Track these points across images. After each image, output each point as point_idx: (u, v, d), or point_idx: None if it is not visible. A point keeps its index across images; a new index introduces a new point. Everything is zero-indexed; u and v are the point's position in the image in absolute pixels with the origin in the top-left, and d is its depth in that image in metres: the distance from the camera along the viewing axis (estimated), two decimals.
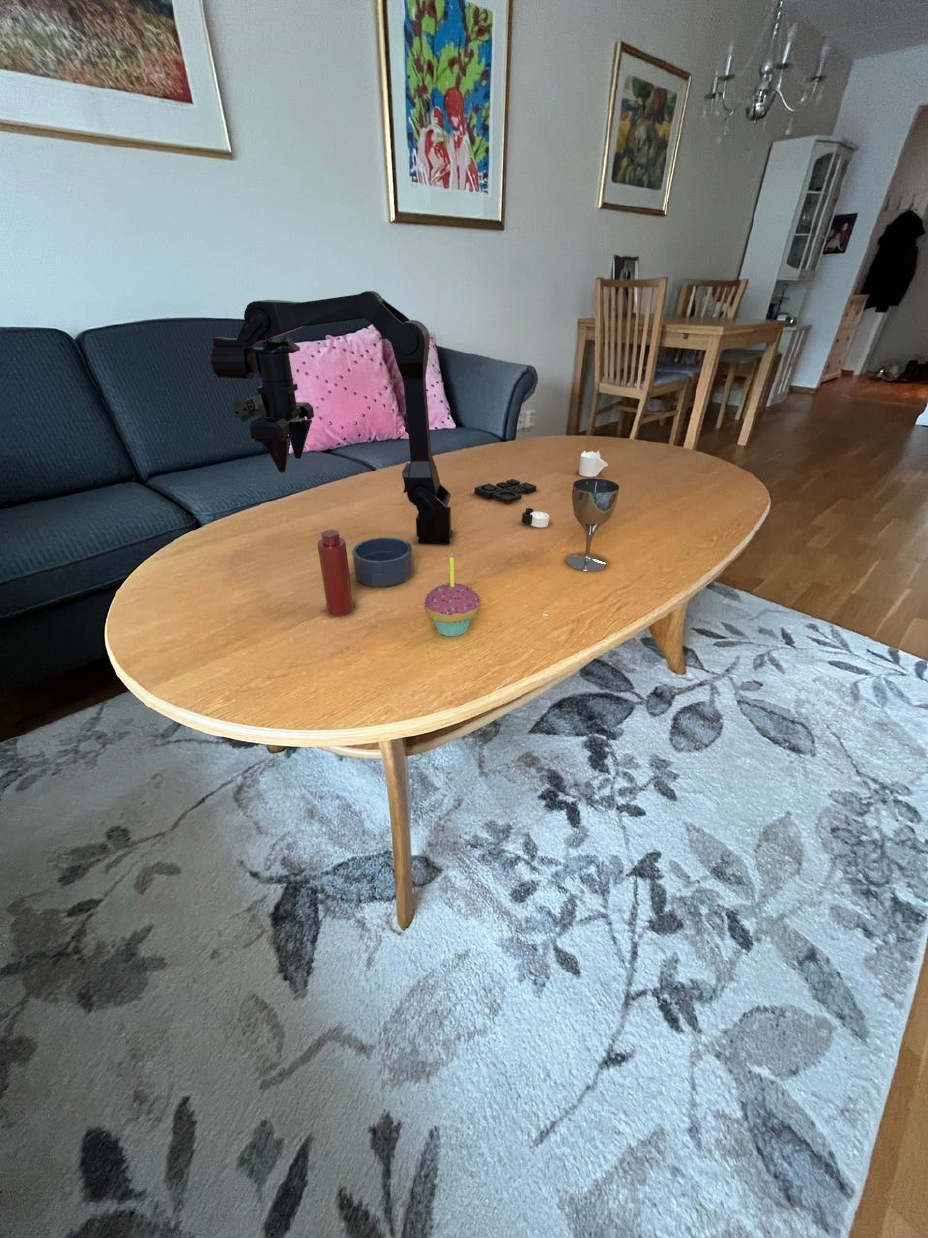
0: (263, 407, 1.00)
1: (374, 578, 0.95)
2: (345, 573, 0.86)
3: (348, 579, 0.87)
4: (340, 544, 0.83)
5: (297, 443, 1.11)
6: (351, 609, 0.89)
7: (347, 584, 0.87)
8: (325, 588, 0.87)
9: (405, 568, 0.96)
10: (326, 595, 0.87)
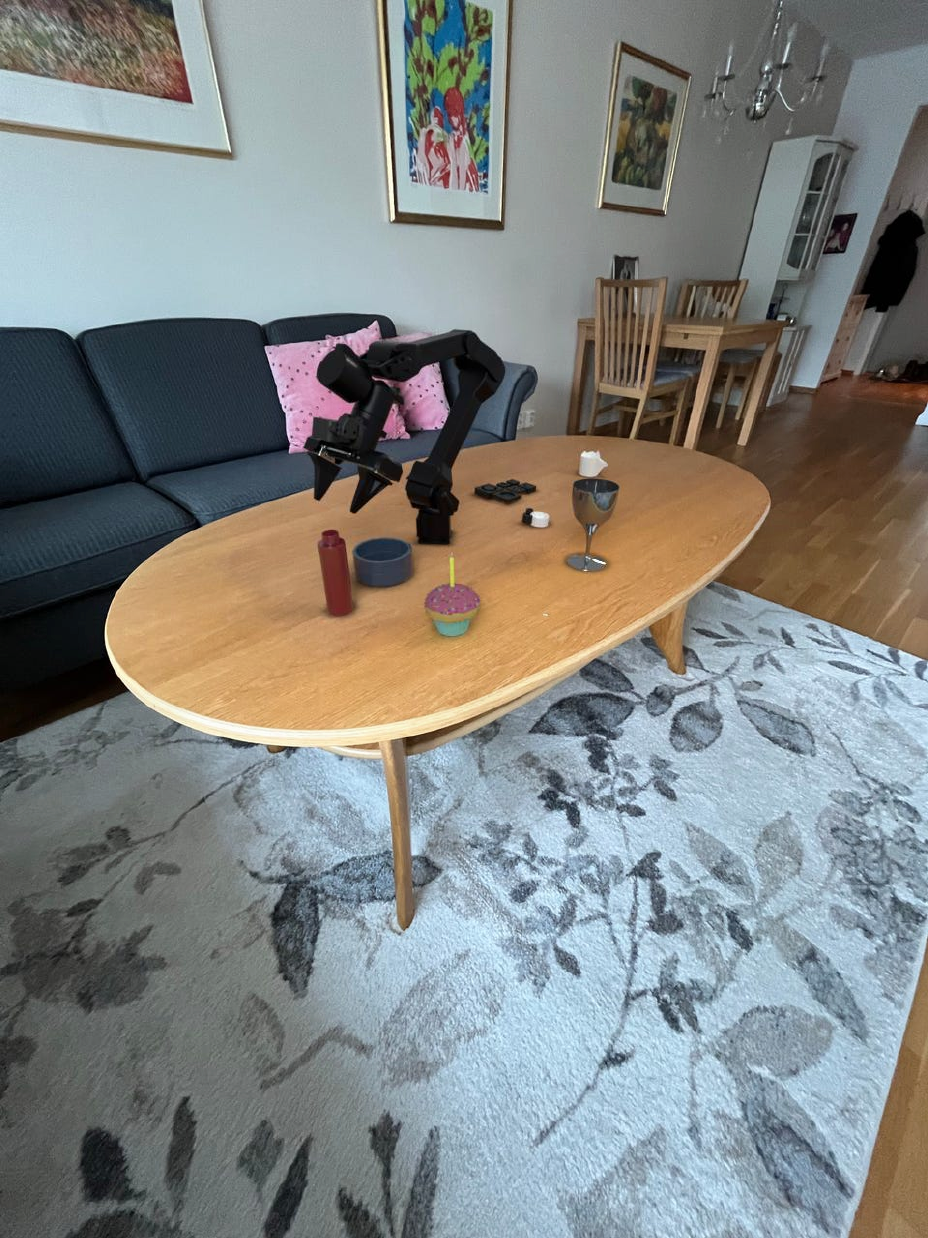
0: (361, 439, 0.87)
1: (374, 578, 0.95)
2: (345, 573, 0.86)
3: (348, 579, 0.87)
4: (340, 544, 0.83)
5: (324, 484, 0.94)
6: (351, 609, 0.89)
7: (347, 584, 0.87)
8: (325, 588, 0.87)
9: (405, 568, 0.96)
10: (326, 595, 0.87)
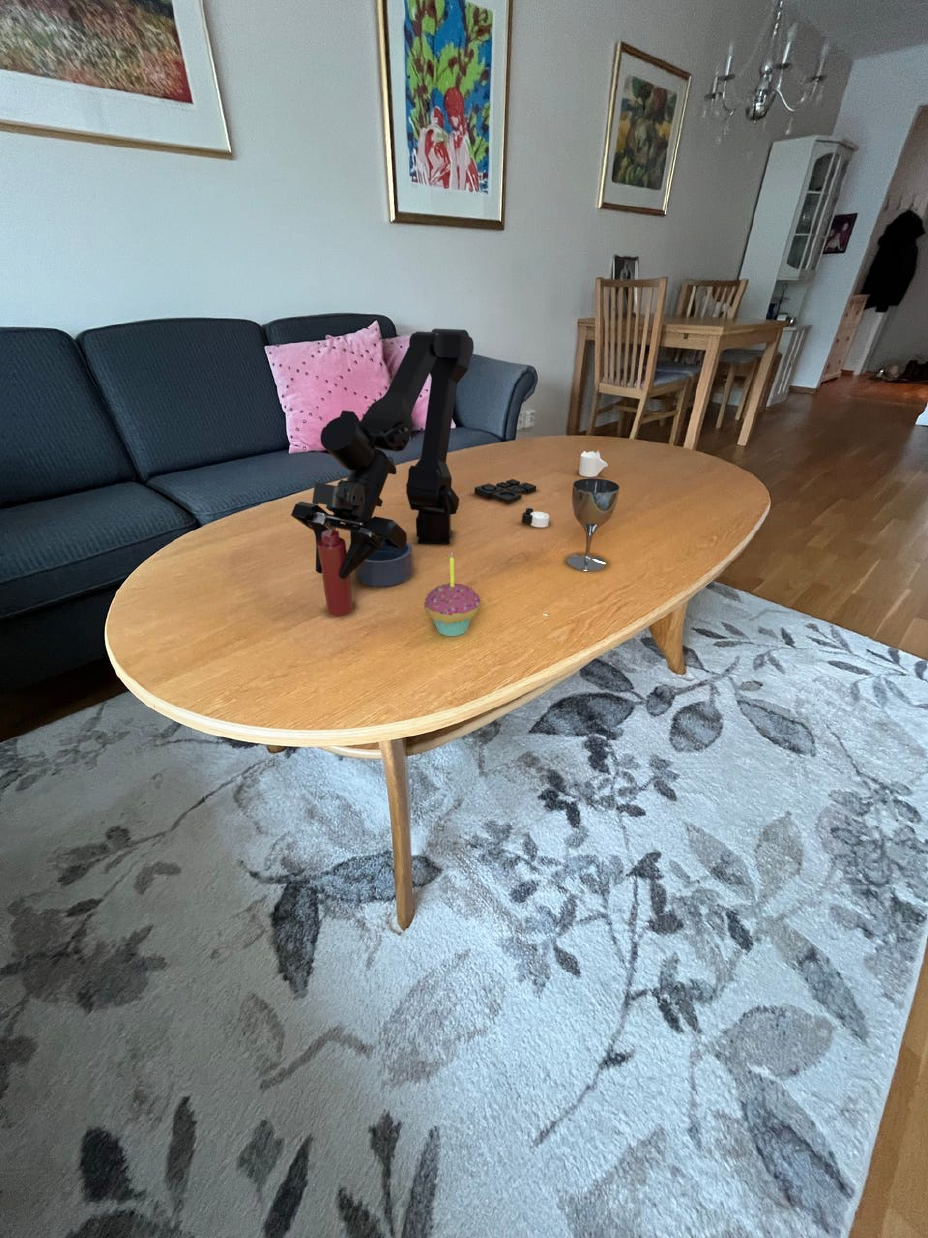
0: (363, 506, 0.84)
1: (374, 578, 0.95)
2: None
3: (348, 579, 0.87)
4: (340, 544, 0.83)
5: None
6: (351, 609, 0.89)
7: (347, 584, 0.87)
8: (325, 588, 0.87)
9: (405, 568, 0.96)
10: (326, 595, 0.87)
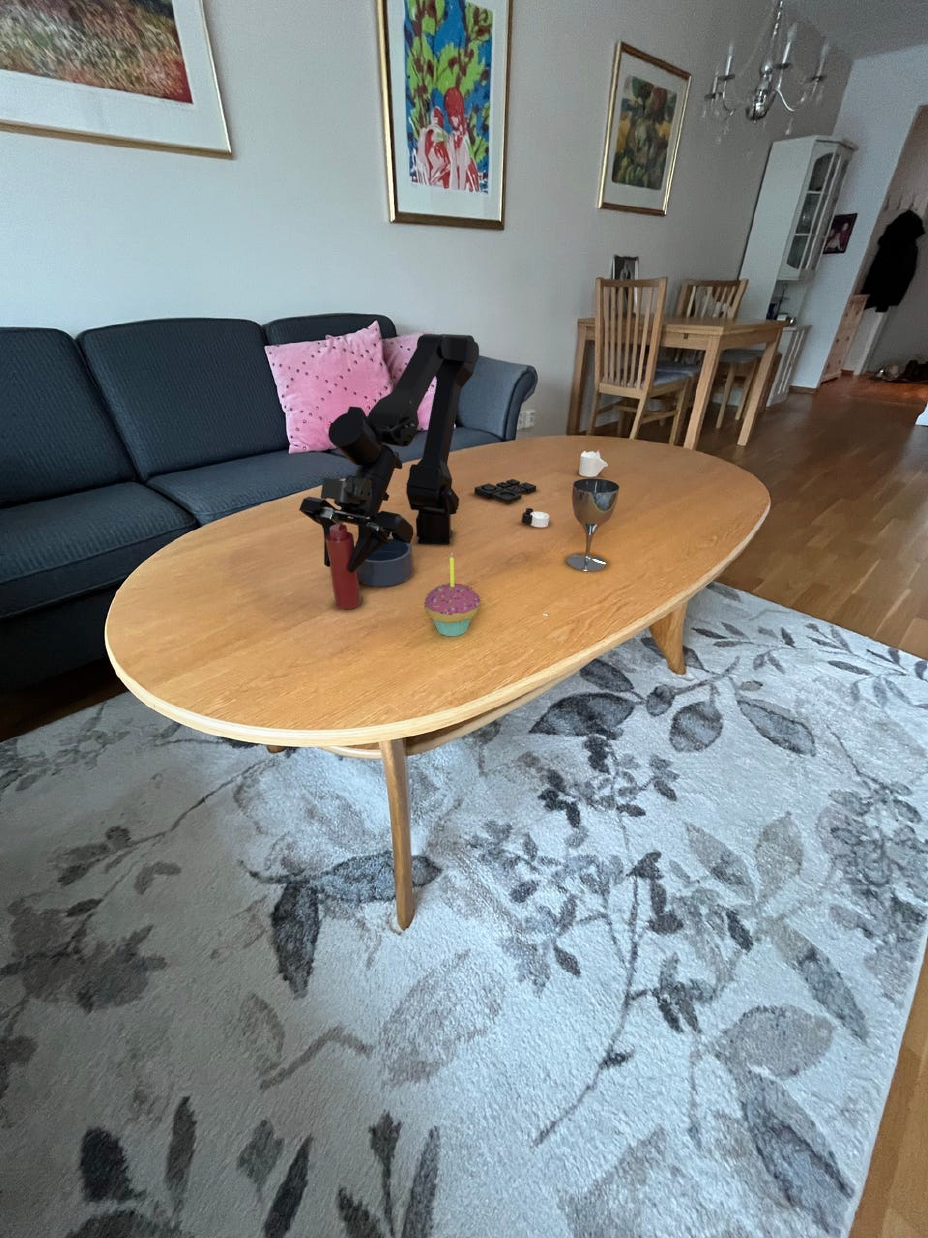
0: (370, 500, 0.86)
1: (374, 578, 0.95)
2: None
3: (356, 573, 0.88)
4: (348, 538, 0.85)
5: None
6: (359, 602, 0.91)
7: (355, 577, 0.88)
8: (333, 582, 0.88)
9: (405, 568, 0.96)
10: (334, 588, 0.89)
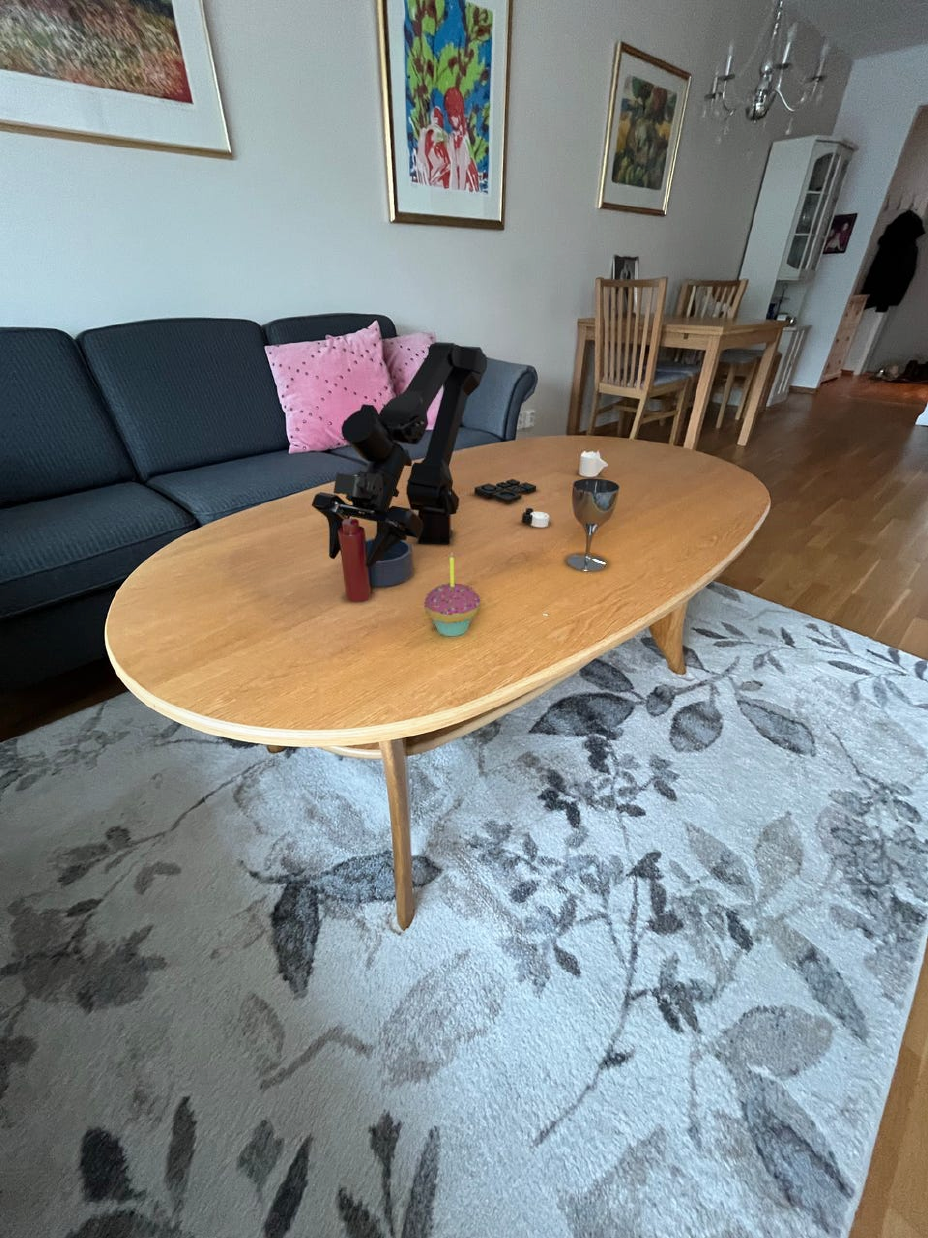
0: (381, 496, 0.88)
1: (374, 578, 0.95)
2: (364, 560, 0.89)
3: None
4: (360, 532, 0.87)
5: (338, 542, 0.91)
6: (369, 595, 0.93)
7: (366, 571, 0.91)
8: (345, 575, 0.91)
9: (405, 568, 0.96)
10: (346, 582, 0.91)
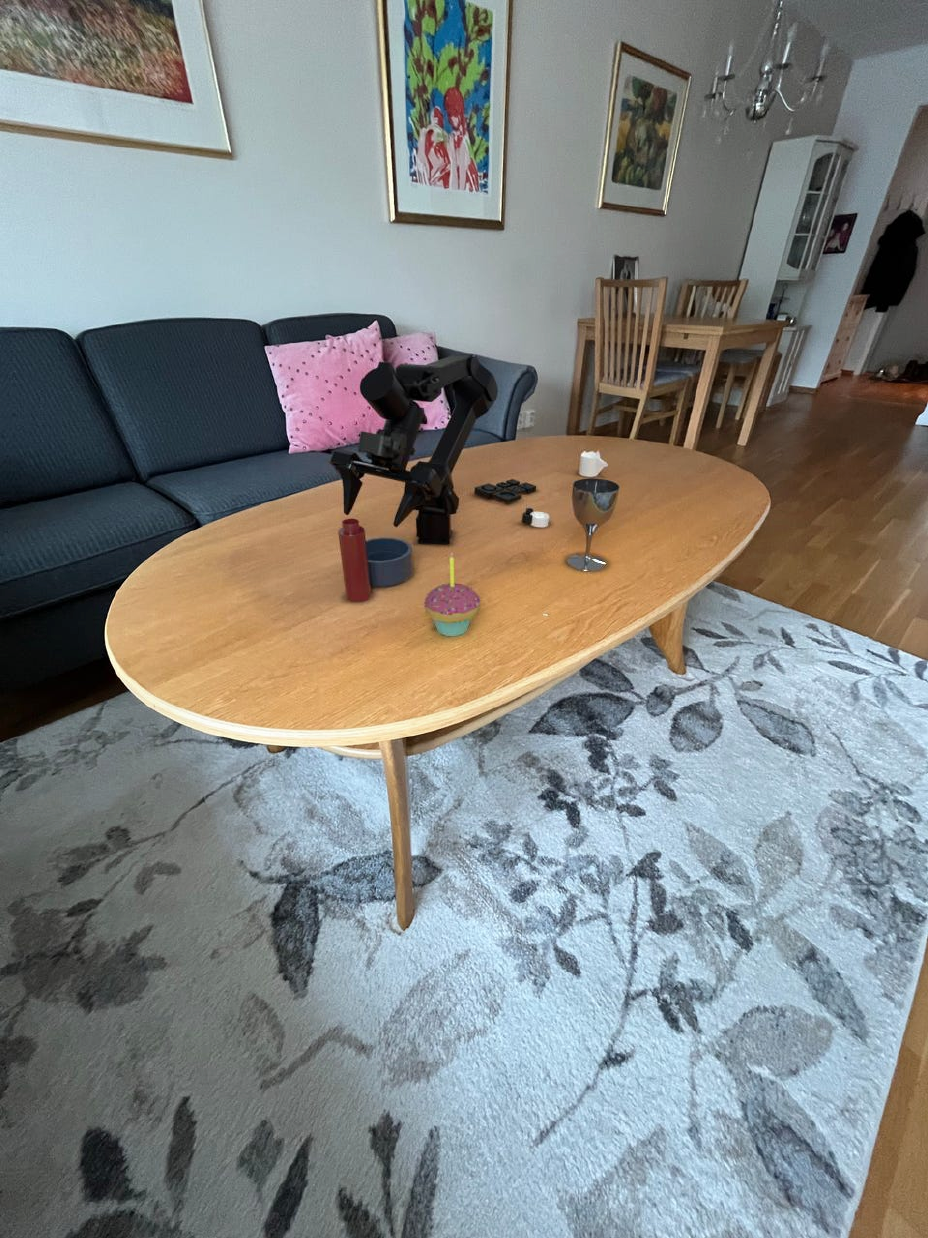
0: (402, 455, 0.90)
1: (374, 578, 0.95)
2: (364, 560, 0.89)
3: (367, 566, 0.91)
4: (360, 532, 0.87)
5: (352, 498, 0.94)
6: (369, 595, 0.93)
7: (366, 571, 0.91)
8: (345, 575, 0.91)
9: (405, 568, 0.96)
10: (346, 582, 0.91)
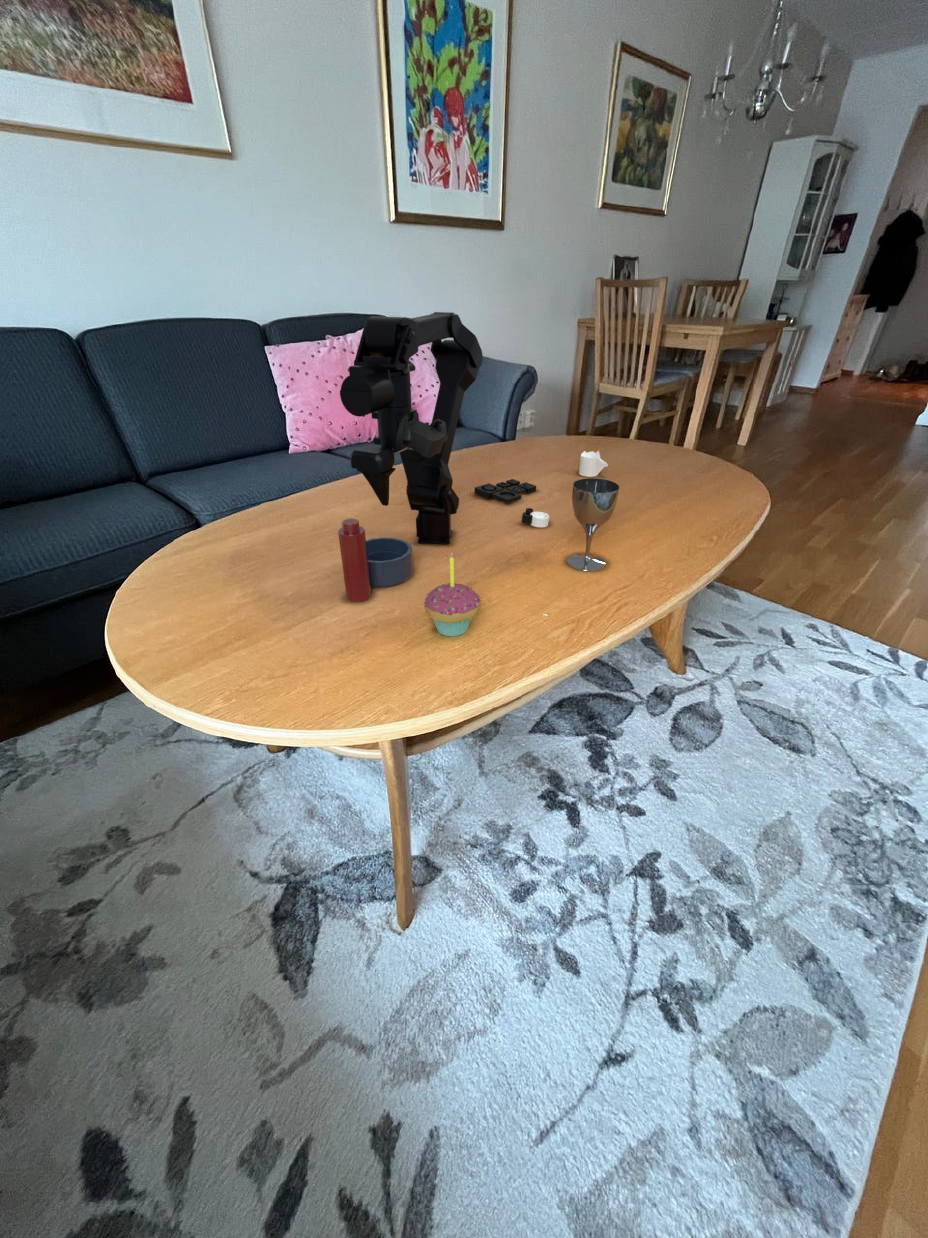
0: None
1: (374, 578, 0.95)
2: (364, 560, 0.89)
3: (367, 566, 0.91)
4: (360, 532, 0.87)
5: None
6: (369, 595, 0.93)
7: (366, 571, 0.91)
8: (345, 575, 0.91)
9: (405, 568, 0.96)
10: (346, 582, 0.91)
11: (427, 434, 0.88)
